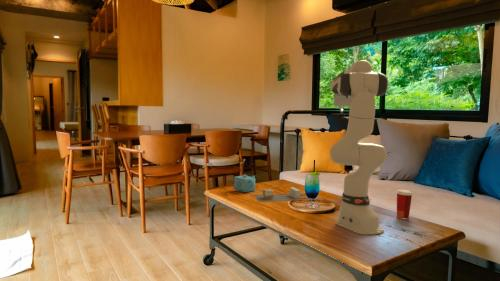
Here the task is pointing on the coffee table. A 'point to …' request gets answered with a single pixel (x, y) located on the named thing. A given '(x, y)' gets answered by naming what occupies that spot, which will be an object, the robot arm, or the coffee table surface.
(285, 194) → the lane rails
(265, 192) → the cube
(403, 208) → the glass of red beer
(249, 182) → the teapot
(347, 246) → the coffee table surface
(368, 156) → the robot arm
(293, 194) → the strip
